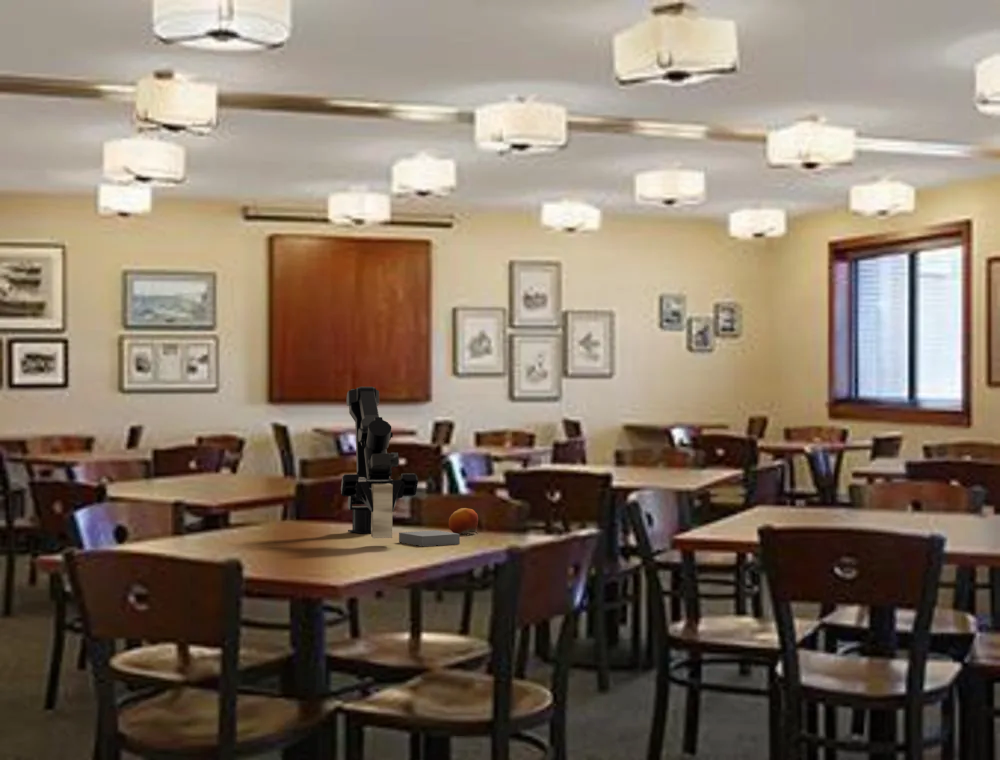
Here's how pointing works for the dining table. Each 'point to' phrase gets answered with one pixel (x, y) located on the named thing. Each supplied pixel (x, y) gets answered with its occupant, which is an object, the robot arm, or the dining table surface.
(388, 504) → the maple post
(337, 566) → the dining table surface
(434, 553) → the dining table surface
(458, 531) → the fruit
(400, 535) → the plinth
